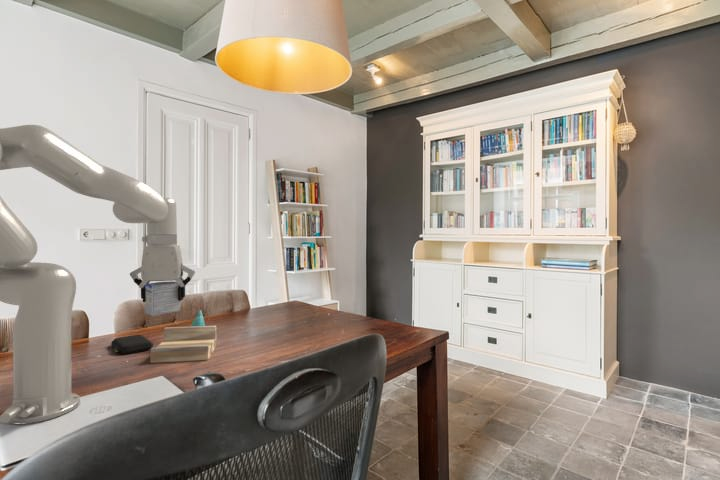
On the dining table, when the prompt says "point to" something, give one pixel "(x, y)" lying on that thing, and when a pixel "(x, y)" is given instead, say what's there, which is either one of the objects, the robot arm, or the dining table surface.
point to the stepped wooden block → (185, 344)
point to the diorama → (198, 320)
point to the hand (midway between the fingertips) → (163, 300)
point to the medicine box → (162, 297)
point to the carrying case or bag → (131, 344)
